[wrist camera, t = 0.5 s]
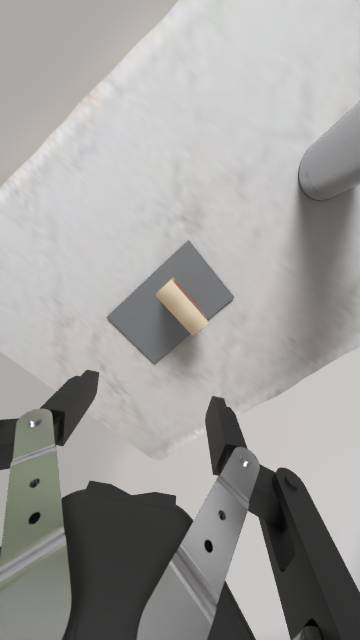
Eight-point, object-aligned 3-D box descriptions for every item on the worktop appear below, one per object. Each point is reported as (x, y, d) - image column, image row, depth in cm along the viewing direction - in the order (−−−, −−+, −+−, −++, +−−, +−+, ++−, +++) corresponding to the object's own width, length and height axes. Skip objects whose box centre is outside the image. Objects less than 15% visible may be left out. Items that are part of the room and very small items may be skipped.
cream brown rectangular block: (173, 276, 35) (171, 279, 24) (199, 307, 37) (208, 322, 26) (161, 287, 35) (154, 294, 25) (188, 317, 37) (192, 335, 26)
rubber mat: (188, 240, 34) (188, 240, 33) (233, 296, 37) (234, 297, 36) (107, 316, 37) (106, 317, 37) (154, 362, 40) (154, 363, 40)
